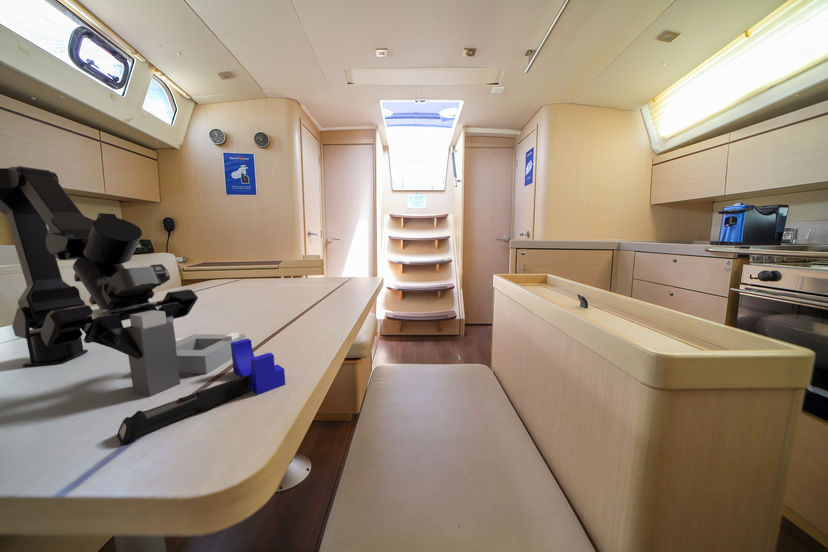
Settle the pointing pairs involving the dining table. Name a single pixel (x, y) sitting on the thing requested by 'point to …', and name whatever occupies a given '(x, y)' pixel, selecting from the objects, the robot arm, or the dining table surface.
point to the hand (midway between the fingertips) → (157, 351)
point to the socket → (204, 352)
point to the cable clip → (256, 367)
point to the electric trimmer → (179, 409)
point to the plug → (153, 353)
